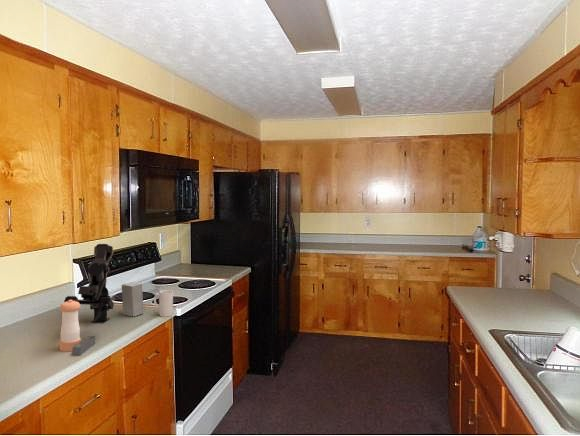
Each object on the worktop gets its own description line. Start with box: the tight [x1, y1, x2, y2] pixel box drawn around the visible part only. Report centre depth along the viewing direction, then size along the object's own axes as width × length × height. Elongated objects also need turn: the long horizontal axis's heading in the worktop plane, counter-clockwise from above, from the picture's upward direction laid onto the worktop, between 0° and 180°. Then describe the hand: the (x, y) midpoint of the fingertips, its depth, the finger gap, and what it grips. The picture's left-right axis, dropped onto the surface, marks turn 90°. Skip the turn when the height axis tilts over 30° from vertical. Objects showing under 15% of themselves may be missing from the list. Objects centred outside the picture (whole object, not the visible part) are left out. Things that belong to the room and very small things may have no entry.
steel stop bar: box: [72, 335, 96, 356], centre depth 158 cm, size 12×3×3 cm, turn 1°
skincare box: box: [121, 281, 144, 318], centre depth 204 cm, size 8×7×16 cm
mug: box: [153, 289, 174, 318], centre depth 205 cm, size 10×7×12 cm, turn 78°
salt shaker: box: [59, 300, 82, 353], centre depth 158 cm, size 7×7×19 cm
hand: (82, 321), depth 166 cm, fingers open, 9 cm apart
